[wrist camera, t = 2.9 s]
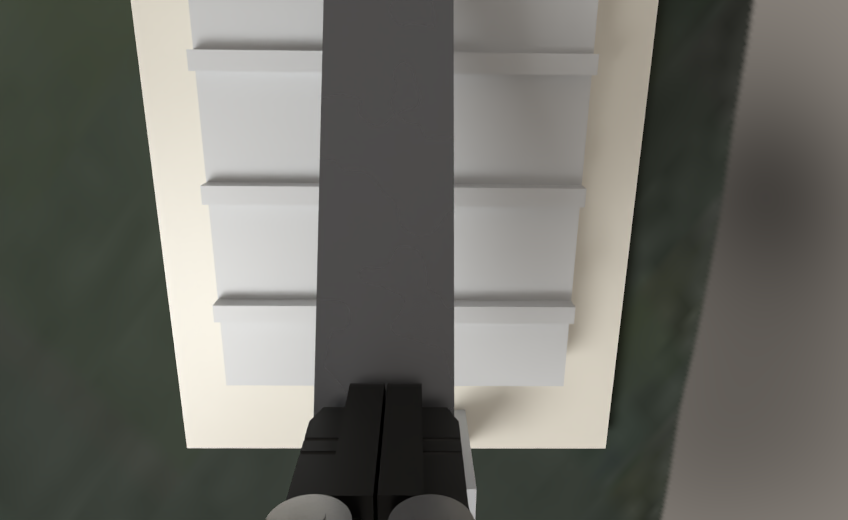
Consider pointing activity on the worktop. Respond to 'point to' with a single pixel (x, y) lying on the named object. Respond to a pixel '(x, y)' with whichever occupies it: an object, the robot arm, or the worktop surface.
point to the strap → (386, 199)
